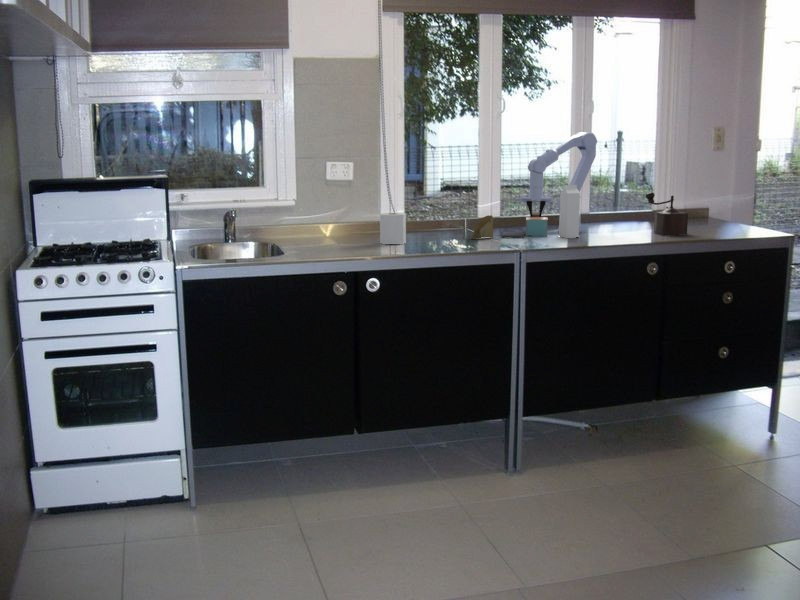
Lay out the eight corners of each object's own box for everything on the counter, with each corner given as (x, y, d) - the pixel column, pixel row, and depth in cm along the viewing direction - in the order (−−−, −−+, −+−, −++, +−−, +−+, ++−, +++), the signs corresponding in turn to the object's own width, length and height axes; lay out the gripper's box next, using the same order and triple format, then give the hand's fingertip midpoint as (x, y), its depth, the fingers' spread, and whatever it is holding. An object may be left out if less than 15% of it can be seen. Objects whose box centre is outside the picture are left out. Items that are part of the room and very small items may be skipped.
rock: (473, 235, 358) (497, 231, 359) (468, 217, 362) (492, 213, 362) (471, 247, 368) (494, 244, 369) (466, 230, 371) (489, 226, 372)
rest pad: (523, 234, 377) (523, 232, 377) (523, 238, 365) (523, 235, 365) (502, 234, 378) (502, 232, 378) (501, 237, 367) (501, 235, 366)
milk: (559, 237, 368) (560, 184, 363) (571, 236, 370) (572, 184, 365) (566, 238, 362) (567, 185, 358) (579, 237, 364) (580, 185, 360)
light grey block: (376, 244, 350) (375, 214, 347) (387, 241, 359) (386, 212, 357) (399, 245, 346) (398, 215, 343) (409, 242, 355) (409, 212, 353)
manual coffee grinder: (673, 232, 381) (675, 190, 378) (687, 234, 371) (690, 192, 367) (641, 233, 377) (643, 191, 374) (655, 236, 367) (657, 193, 363)
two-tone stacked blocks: (541, 222, 383) (541, 211, 381) (541, 231, 372) (541, 220, 370) (529, 222, 384) (530, 211, 382) (529, 231, 373) (529, 220, 371)
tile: (547, 234, 372) (547, 217, 368) (547, 236, 371) (547, 219, 366) (525, 233, 374) (526, 217, 370) (525, 236, 372) (526, 219, 368)
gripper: (519, 187, 375) (518, 219, 378) (553, 187, 373) (552, 219, 375) (519, 186, 382) (519, 217, 385) (553, 186, 380) (552, 217, 382)
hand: (535, 218), depth 380 cm, fingers closed on two-tone stacked blocks, 3 cm apart
